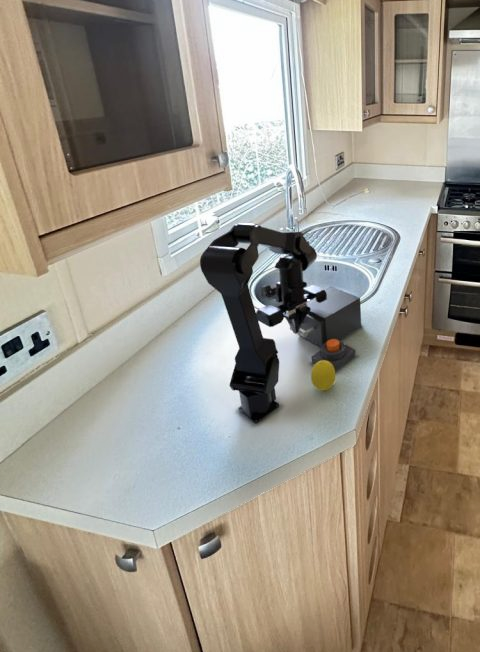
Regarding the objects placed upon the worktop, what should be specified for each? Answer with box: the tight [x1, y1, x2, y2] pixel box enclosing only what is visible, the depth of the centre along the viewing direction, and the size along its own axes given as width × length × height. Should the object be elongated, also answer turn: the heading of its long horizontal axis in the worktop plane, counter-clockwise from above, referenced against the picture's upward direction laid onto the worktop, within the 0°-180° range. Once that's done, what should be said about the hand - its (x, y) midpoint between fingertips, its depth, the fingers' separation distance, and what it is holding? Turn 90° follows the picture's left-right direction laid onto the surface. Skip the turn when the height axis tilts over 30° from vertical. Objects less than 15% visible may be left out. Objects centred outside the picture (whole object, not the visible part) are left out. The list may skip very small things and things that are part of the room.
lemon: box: [310, 360, 337, 391], centre depth 93 cm, size 6×6×8 cm
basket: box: [289, 313, 325, 348], centre depth 113 cm, size 16×10×8 cm, turn 141°
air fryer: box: [306, 286, 362, 342], centre depth 116 cm, size 14×12×10 cm
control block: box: [310, 340, 357, 372], centre depth 104 cm, size 9×7×4 cm
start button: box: [327, 339, 340, 352], centre depth 103 cm, size 3×3×2 cm
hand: (295, 333), depth 107 cm, fingers closed
